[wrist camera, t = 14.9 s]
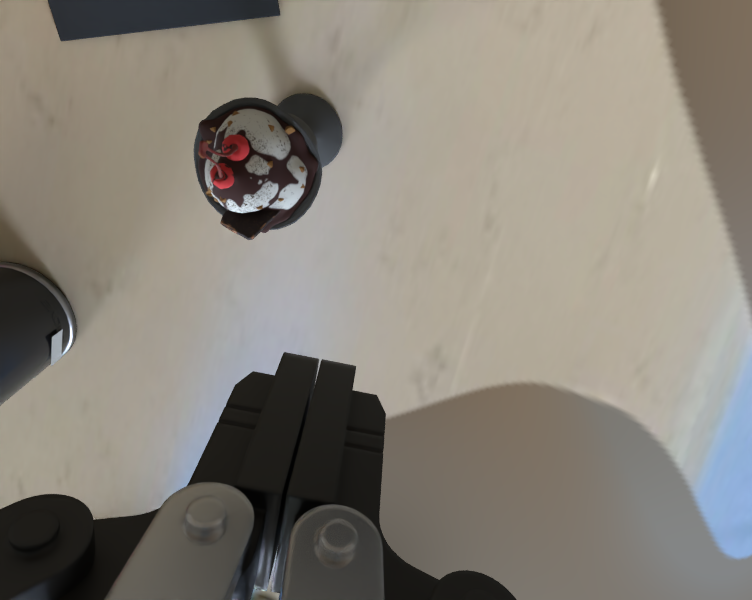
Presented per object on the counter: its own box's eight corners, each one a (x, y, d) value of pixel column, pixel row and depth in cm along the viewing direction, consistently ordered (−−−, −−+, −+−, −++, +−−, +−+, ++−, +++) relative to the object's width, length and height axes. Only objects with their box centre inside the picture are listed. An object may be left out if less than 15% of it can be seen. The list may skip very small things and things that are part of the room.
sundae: (300, 55, 34) (198, 75, 21) (375, 134, 36) (323, 200, 23) (238, 129, 37) (113, 190, 24) (310, 200, 39) (230, 293, 25)
